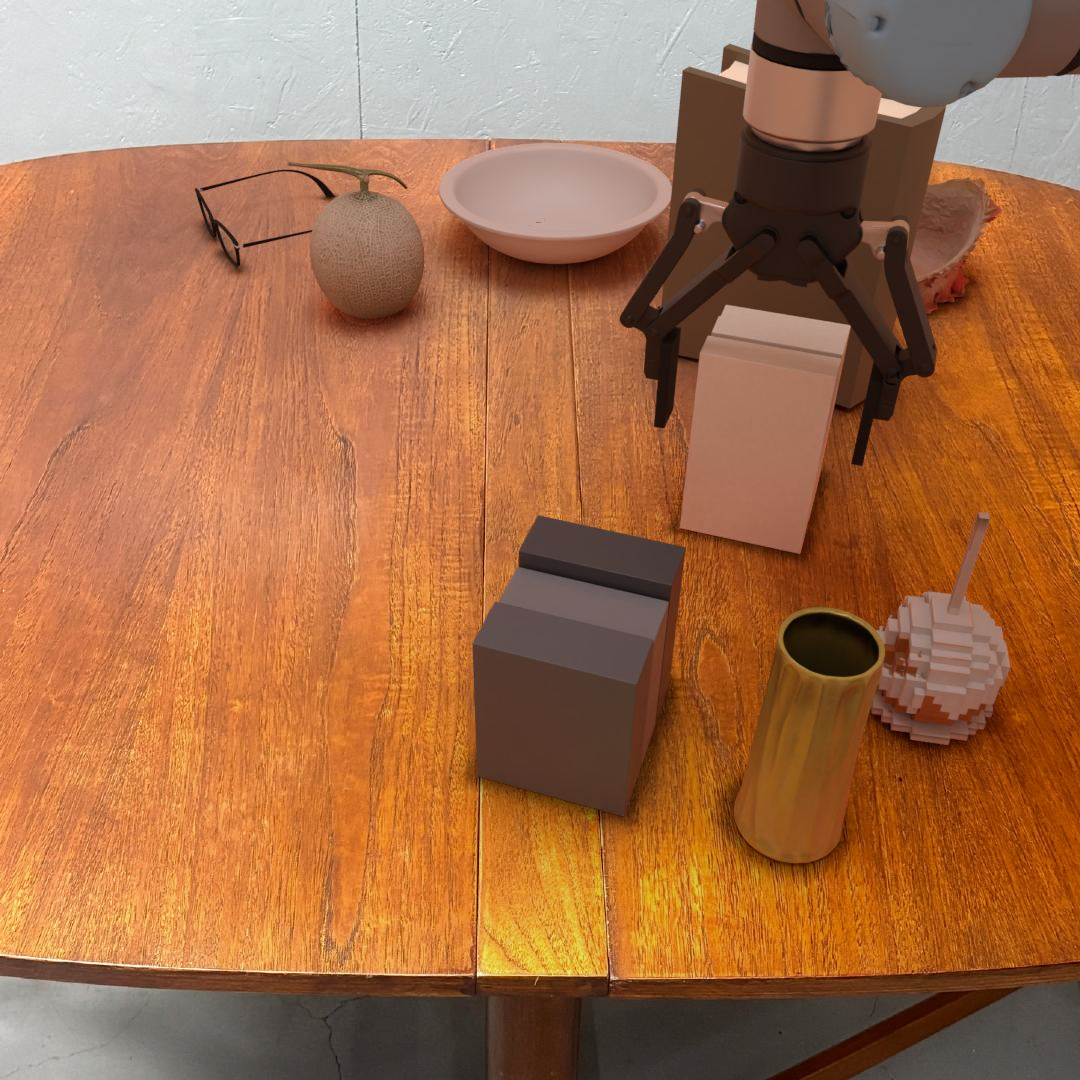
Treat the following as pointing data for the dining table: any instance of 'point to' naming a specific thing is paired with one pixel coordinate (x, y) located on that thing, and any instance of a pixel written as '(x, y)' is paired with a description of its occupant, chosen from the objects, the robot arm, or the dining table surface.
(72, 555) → the dining table surface
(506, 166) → the soup bowl
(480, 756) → the grey books
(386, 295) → the fruit
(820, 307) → the book
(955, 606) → the pale rounded piece
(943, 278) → the seashell
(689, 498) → the white book
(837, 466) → the dining table surface
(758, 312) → the white books
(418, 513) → the dining table surface
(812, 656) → the vase
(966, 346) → the dining table surface
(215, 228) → the eyeglasses
